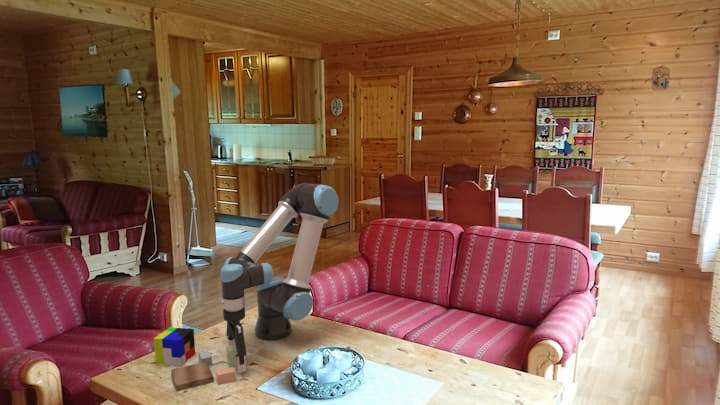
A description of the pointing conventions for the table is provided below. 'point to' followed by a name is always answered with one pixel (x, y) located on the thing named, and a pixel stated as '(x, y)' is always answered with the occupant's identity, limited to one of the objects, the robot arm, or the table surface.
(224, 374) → the terracotta brick
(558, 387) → the table surface
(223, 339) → the table surface
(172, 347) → the puzzle toy
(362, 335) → the table surface
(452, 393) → the table surface
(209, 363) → the grey brick
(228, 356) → the sage brick
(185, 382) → the walnut slab
